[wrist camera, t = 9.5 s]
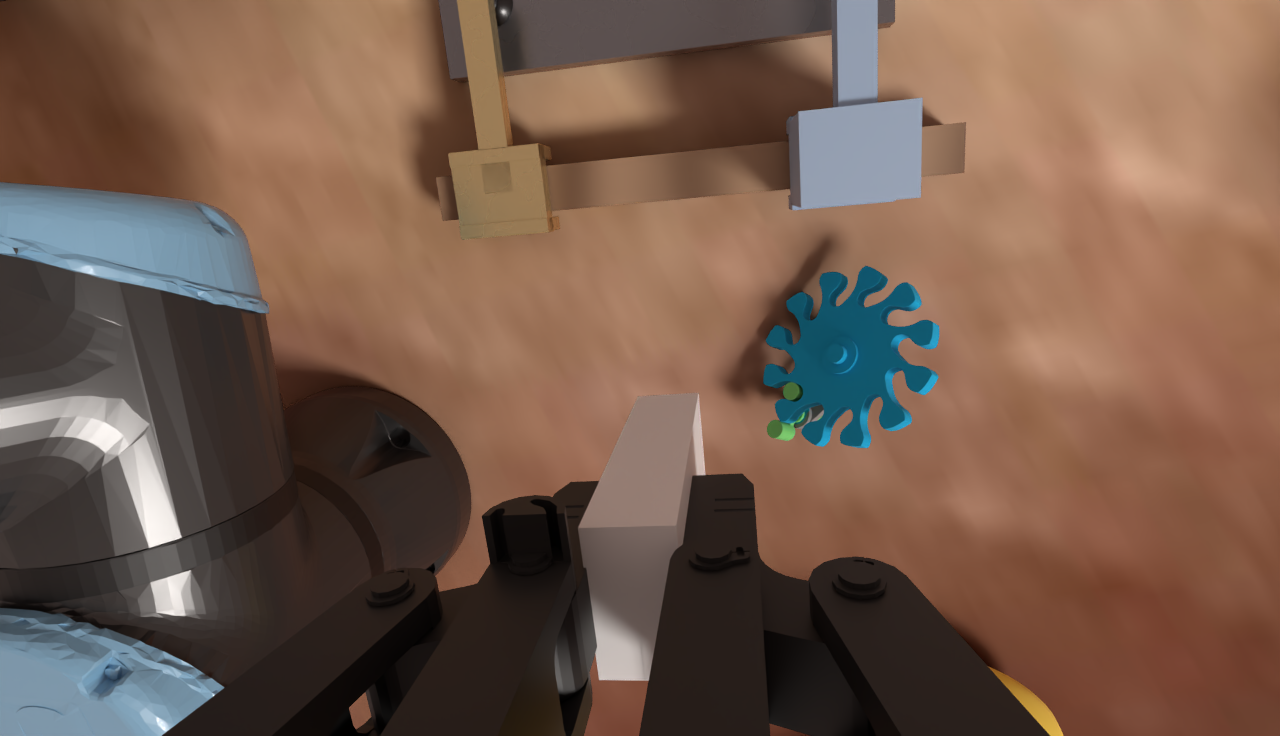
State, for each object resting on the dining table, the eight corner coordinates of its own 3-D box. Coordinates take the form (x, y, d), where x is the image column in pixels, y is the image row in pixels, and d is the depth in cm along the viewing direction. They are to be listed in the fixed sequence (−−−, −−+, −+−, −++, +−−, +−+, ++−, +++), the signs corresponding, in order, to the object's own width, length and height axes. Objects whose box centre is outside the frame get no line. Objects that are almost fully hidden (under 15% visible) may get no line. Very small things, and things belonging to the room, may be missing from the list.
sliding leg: (788, 208, 36) (801, 213, 29) (780, -54, 33) (792, -119, 26) (884, 200, 35) (920, 203, 28) (885, -69, 32) (926, -141, 25)
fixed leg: (479, 236, 39) (461, 240, 36) (443, -3, 36) (421, -17, 33) (560, 229, 38) (548, 232, 36) (531, -17, 35) (515, -32, 32)
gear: (849, 226, 36) (975, 353, 30) (896, 259, 40) (1016, 377, 34) (717, 364, 40) (804, 498, 35) (772, 382, 45) (857, 504, 39)
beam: (463, 218, 40) (442, 220, 38) (457, 178, 40) (435, 177, 37) (946, 173, 36) (964, 172, 33) (947, 127, 35) (966, 122, 32)
